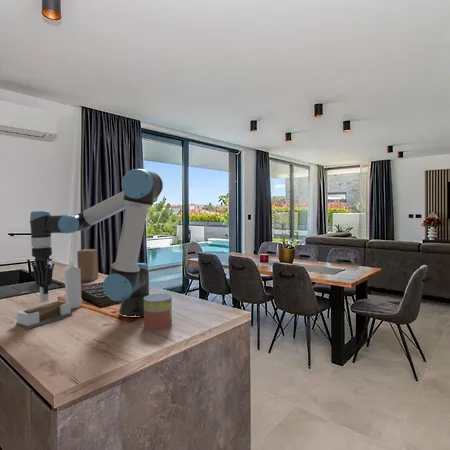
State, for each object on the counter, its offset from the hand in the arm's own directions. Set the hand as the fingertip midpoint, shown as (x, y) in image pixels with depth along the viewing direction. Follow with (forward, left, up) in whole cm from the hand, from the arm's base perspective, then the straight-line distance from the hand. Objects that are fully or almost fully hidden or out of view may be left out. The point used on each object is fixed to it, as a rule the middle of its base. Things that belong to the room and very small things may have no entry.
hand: (44, 301), depth 144 cm
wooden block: (+49, -60, -8) cm, 78 cm away
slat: (0, 0, -7) cm, 7 cm away
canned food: (-48, -18, -8) cm, 52 cm away
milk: (+6, -18, -8) cm, 21 cm away
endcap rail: (0, 0, -8) cm, 8 cm away
